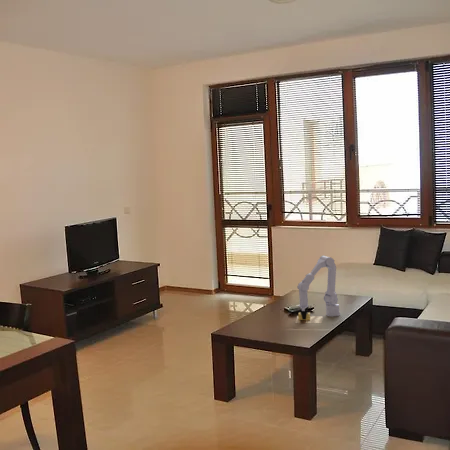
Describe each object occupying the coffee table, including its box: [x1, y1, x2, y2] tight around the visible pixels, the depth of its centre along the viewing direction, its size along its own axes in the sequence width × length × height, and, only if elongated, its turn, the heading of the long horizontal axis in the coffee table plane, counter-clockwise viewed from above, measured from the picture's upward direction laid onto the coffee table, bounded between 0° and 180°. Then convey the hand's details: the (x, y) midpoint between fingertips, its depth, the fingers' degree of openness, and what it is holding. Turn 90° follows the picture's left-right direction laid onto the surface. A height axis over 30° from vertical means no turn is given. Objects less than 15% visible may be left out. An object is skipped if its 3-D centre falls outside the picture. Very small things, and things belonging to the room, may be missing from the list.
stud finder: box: [297, 312, 311, 320], centre depth 388 cm, size 8×5×4 cm, turn 78°
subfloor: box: [294, 315, 323, 325], centre depth 387 cm, size 18×19×1 cm
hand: (304, 318), depth 388 cm, fingers closed on stud finder, 5 cm apart
